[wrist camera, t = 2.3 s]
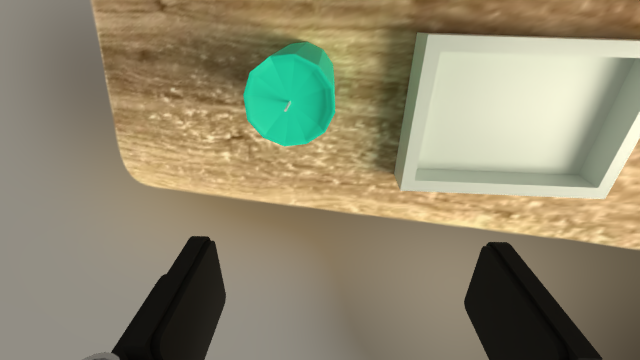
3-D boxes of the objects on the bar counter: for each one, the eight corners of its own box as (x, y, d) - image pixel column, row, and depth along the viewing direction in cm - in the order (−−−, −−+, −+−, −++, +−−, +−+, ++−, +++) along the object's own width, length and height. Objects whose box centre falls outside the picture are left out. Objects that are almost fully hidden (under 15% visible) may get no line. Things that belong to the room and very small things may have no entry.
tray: (417, 32, 26) (428, 34, 23) (650, 39, 26) (693, 42, 23) (394, 174, 33) (400, 190, 30) (579, 181, 32) (604, 199, 29)
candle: (340, 47, 27) (345, 66, 17) (329, 112, 30) (326, 163, 19) (274, 36, 27) (236, 47, 16) (269, 102, 30) (234, 148, 19)
